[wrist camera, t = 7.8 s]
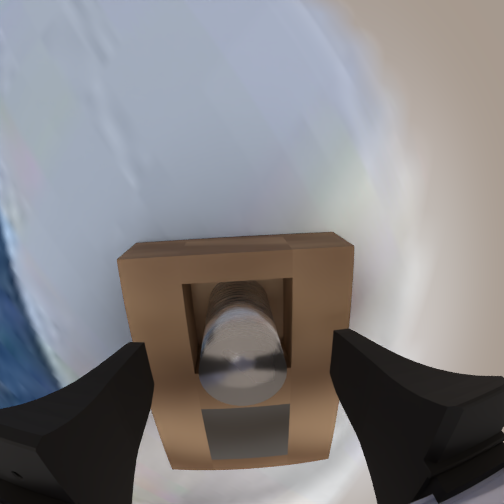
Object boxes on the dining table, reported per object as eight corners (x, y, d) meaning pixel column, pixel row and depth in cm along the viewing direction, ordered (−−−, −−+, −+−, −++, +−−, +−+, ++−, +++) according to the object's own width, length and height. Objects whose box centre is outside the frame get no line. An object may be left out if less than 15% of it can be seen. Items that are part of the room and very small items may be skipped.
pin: (269, 326, 16) (288, 400, 11) (213, 332, 16) (206, 408, 10) (265, 272, 16) (285, 331, 10) (204, 279, 15) (191, 340, 10)
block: (318, 428, 19) (328, 458, 17) (176, 437, 19) (172, 469, 16) (332, 231, 16) (354, 245, 13) (136, 243, 15) (116, 259, 12)
